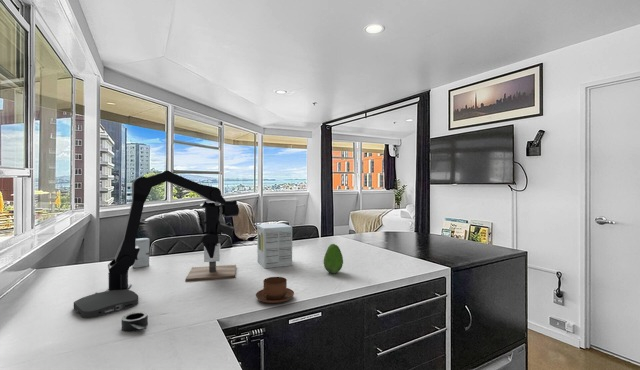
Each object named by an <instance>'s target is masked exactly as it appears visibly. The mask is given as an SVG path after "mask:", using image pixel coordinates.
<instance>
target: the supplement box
mask: <svg viewBox="0 0 640 370" xmlns="http://www.w3.org/2000/svg"><path fill="white" fill-rule="evenodd" d="M256 225H257V227H256V230H257V232H256V233H257V234H256V235H257V236H256V237H257V238H256V239H257V249H256V250H257V251H256V253H257V257H256V258H257V263H258V264H260V265H261V267H262V268H264V269H271V268H278V267H289V266H292V265H293V226H291V225H289V224H286V223H283V222H282V223H281V222H279V223H263V224H256Z"/></svg>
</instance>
